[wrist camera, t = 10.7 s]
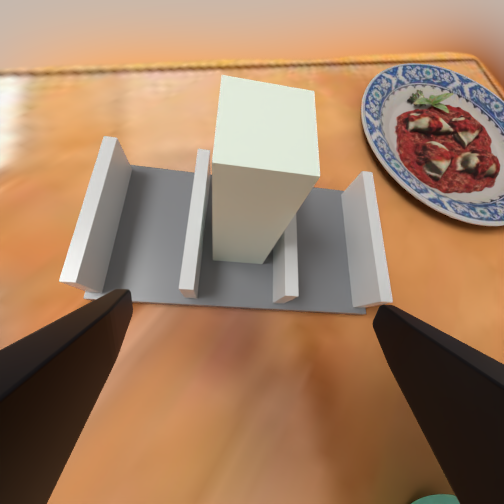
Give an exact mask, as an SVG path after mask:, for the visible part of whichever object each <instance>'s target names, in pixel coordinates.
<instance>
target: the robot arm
mask: <svg viewBox="0 0 504 504" xmlns="http://www.w3.org/2000/svg"><path fill="white" fill-rule="evenodd" d="M132 313H133V306H132V296H131V291H130V290H129V289H115V290H113V291H111V292H109V293H107V294H105V295H103V296H101V297H100V298H98V299H96V300H94V301H92V302H90V303H88V304H86V305H84V306H83V307H81V308H79V309H77V310H75V311H73V312H71V313H69V314H68V315H66V316H64V317H62V318H60V319H58V320H56V321H54V322H52V323H51V324H49V325H47V326H45V327H43V328H41V329H39V330H37V331H35V332H34V333H32V334H30V335H28V336H26V337H24V338H22V339H20V340H18V341H17V342H15V343H13V344H11V345H9V346H7V347H5V348H3V349H1V350H0V504H47V502H48V500H49V498H50V496H51V494H52V492H53V490H54V488H55V486H56V484H57V481H58V479H59V477H60V475H61V473H62V471H63V469H64V467H65V465H66V463H67V461H68V459H69V457H70V455H71V453H72V450H73V448H74V446H75V444H76V442H77V440H78V438H79V436H80V434H81V432H82V430H83V428H84V426H85V424H86V422H87V419H88V417H89V415H90V413H91V411H92V409H93V407H94V405H95V403H96V401H97V399H98V397H99V395H100V393H101V391H102V389H103V386H104V384H105V382H106V380H107V378H108V376H109V374H110V372H111V370H112V368H113V366H114V364H115V361H116V359H117V357H118V354H119V351H120V349H121V346H122V343H123V340H124V337H125V334H126V331H127V329H128V326H129V323H130V320H131V317H132ZM373 328H374V331H375V333H376V336H377V338H378V341H379V343H380V346H381V348H382V350H383V353H384V355H385V358H386V360H387V363H388V365H389V367H390V369H391V371H392V373H393V375H394V377H395V379H396V381H397V383H398V385H399V387H400V389H401V391H402V393H403V394H404V396H405V398H406V400H407V402H408V404H409V406H410V408H411V410H412V412H413V414H414V416H415V418H416V420H417V422H418V424H419V425H420V427H421V429H422V431H423V433H424V435H425V437H426V439H427V441H428V443H429V445H430V447H431V449H432V451H433V453H434V455H435V457H436V458H437V460H438V462H439V464H440V466H441V468H442V470H443V472H444V474H445V476H446V478H447V480H448V482H449V484H450V486H451V488H452V489H453V491H454V493H455V495H456V497H457V499H458V501H459V503H460V504H504V364H502V363H500V362H498V361H496V360H495V359H493V358H491V357H489V356H487V355H485V354H483V353H481V352H480V351H478V350H476V349H474V348H472V347H470V346H468V345H467V344H465V343H463V342H461V341H459V340H457V339H455V338H453V337H452V336H450V335H448V334H446V333H444V332H442V331H440V330H438V329H437V328H435V327H433V326H431V325H429V324H427V323H425V322H423V321H422V320H420V319H418V318H416V317H414V316H412V315H410V314H408V313H407V312H405V311H403V310H401V309H399V308H397V307H395V306H393V305H381V306H380V307H379V309H378V311H377V313H376V316H375V318H374V320H373Z"/></svg>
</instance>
